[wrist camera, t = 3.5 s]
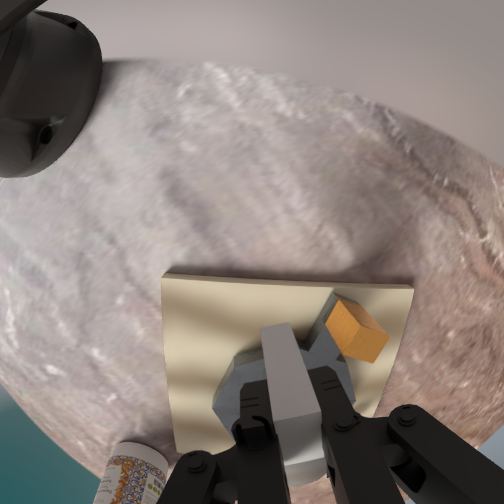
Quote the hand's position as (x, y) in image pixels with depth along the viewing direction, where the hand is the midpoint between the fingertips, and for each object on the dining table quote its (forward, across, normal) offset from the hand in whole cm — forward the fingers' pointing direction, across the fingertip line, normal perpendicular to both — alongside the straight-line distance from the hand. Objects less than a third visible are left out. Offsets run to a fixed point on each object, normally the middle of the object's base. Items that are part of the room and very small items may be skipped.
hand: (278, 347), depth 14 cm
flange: (+6, +1, -7) cm, 10 cm away
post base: (+8, 0, -9) cm, 12 cm away
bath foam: (+8, -18, -19) cm, 27 cm away
